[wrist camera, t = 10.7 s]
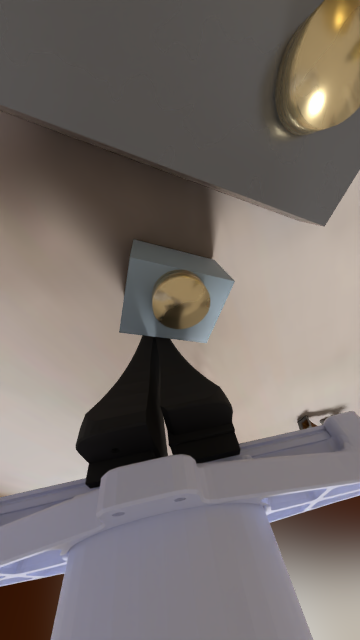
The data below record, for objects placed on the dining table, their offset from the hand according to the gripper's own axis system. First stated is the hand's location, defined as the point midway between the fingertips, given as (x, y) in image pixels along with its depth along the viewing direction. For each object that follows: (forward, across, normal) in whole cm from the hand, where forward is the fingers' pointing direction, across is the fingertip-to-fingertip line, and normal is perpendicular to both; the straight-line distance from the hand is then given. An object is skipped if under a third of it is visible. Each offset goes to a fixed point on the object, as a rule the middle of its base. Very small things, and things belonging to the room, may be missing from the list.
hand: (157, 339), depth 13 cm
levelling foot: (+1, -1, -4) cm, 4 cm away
